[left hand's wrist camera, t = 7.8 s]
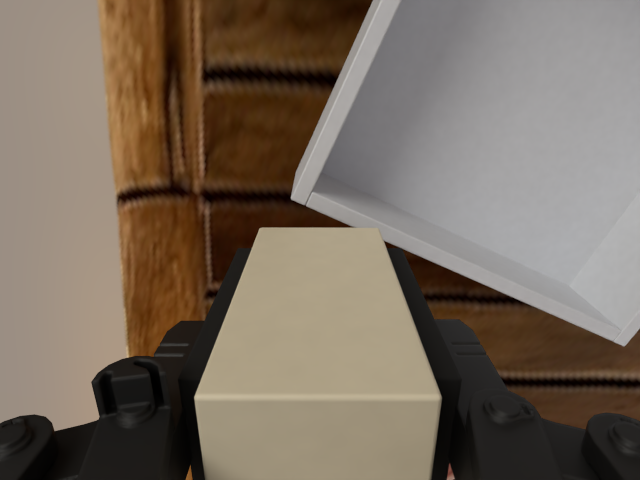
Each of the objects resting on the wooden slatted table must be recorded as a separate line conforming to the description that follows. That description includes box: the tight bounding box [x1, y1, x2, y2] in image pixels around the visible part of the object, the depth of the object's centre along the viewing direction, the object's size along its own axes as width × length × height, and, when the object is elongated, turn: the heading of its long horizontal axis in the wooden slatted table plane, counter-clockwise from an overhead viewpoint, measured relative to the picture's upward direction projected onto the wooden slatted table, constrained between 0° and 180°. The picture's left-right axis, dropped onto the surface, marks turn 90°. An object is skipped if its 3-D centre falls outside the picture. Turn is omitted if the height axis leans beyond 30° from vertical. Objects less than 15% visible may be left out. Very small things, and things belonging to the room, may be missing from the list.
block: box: [194, 228, 442, 480], centre depth 11 cm, size 4×4×8 cm
